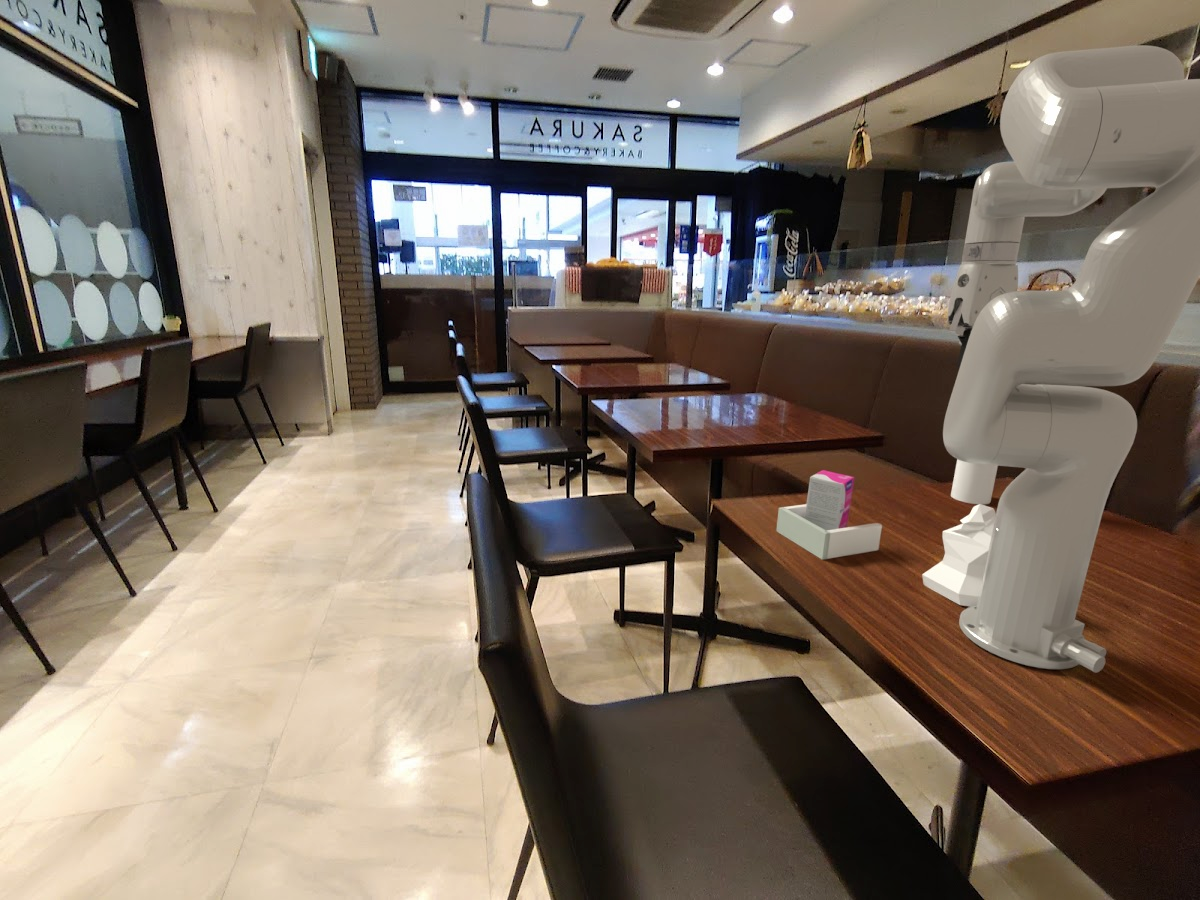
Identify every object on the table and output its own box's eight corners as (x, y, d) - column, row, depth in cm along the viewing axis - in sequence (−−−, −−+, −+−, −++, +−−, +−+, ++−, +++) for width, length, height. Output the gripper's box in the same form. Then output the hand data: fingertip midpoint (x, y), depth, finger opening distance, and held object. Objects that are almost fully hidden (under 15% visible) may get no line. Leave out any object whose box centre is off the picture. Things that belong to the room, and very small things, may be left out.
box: (878, 550, 97) (882, 525, 96) (822, 559, 93) (825, 533, 92) (828, 523, 108) (831, 500, 107) (776, 531, 104) (778, 507, 103)
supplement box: (834, 548, 97) (843, 483, 94) (800, 538, 101) (807, 476, 98) (846, 538, 101) (855, 475, 98) (813, 529, 105) (820, 468, 102)
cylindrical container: (998, 504, 119) (1023, 383, 112) (963, 504, 119) (986, 382, 112) (977, 493, 126) (999, 377, 119) (943, 492, 126) (964, 377, 119)
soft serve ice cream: (991, 638, 75) (979, 538, 72) (908, 590, 90) (895, 506, 86) (1071, 606, 77) (1063, 508, 74) (978, 564, 91) (967, 481, 88)
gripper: (977, 253, 88) (956, 373, 93) (1045, 256, 93) (1021, 370, 98) (934, 255, 95) (917, 368, 100) (1000, 258, 100) (980, 365, 105)
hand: (969, 369), depth 99 cm, fingers closed
